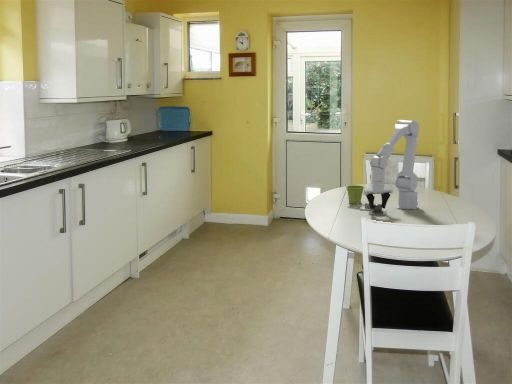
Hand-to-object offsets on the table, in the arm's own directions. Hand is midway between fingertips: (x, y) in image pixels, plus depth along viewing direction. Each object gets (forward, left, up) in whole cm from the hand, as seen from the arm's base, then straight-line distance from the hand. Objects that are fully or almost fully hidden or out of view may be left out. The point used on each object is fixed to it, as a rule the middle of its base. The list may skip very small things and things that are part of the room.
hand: (377, 208), depth 271 cm
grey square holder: (+5, -10, -2) cm, 11 cm away
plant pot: (+13, -23, -3) cm, 27 cm away
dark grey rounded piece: (0, 0, -2) cm, 2 cm away
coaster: (0, 0, -2) cm, 2 cm away
